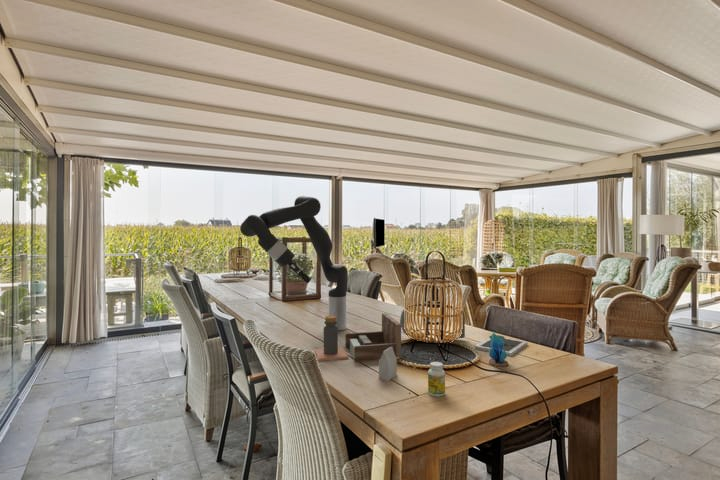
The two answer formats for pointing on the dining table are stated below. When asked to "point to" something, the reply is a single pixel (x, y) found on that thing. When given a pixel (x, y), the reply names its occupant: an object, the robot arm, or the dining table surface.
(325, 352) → the bottle
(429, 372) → the supplement bottle
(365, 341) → the charcoal offcut
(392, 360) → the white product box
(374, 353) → the walnut rack
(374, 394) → the dining table surface
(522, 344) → the picture frame
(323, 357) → the terracotta pad
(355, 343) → the sage offcut
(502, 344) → the gemstone
